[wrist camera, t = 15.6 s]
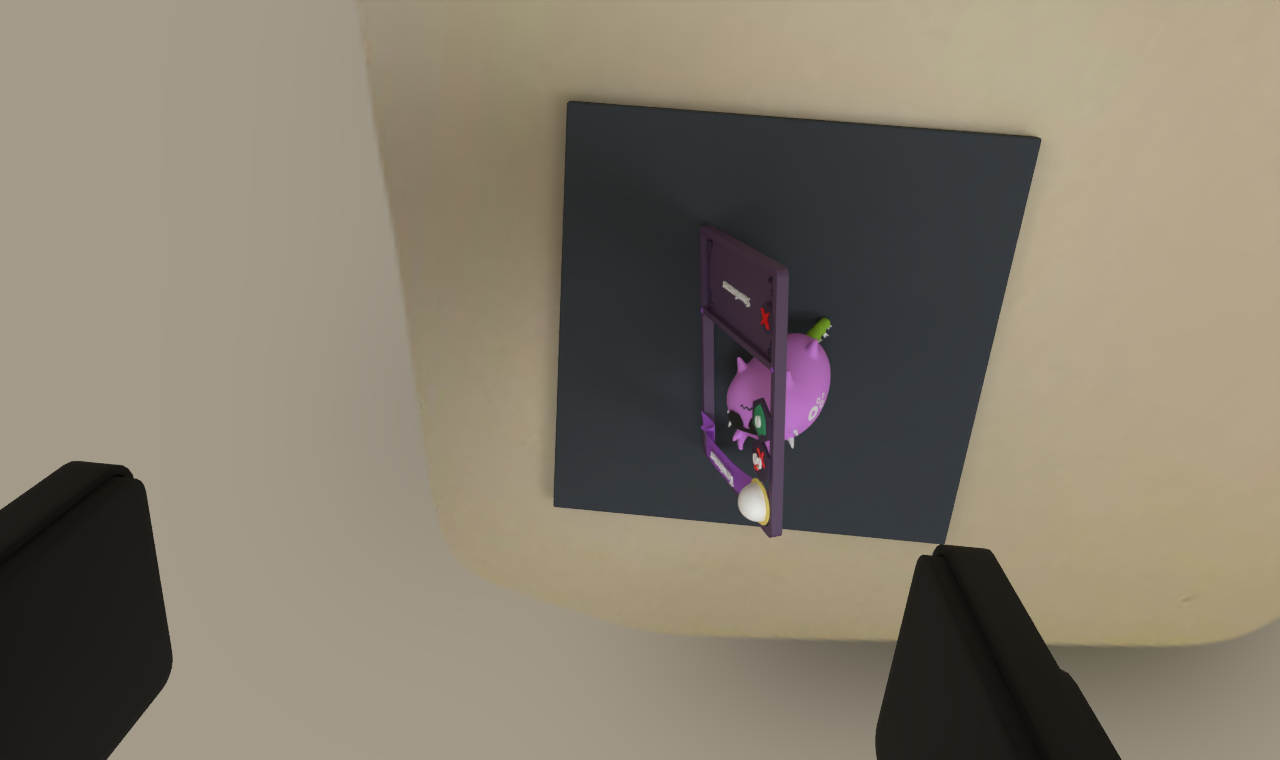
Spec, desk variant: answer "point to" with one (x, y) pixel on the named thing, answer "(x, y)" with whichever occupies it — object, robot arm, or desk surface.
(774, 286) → the purple toy figure
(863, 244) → the mat
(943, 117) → the desk surface
